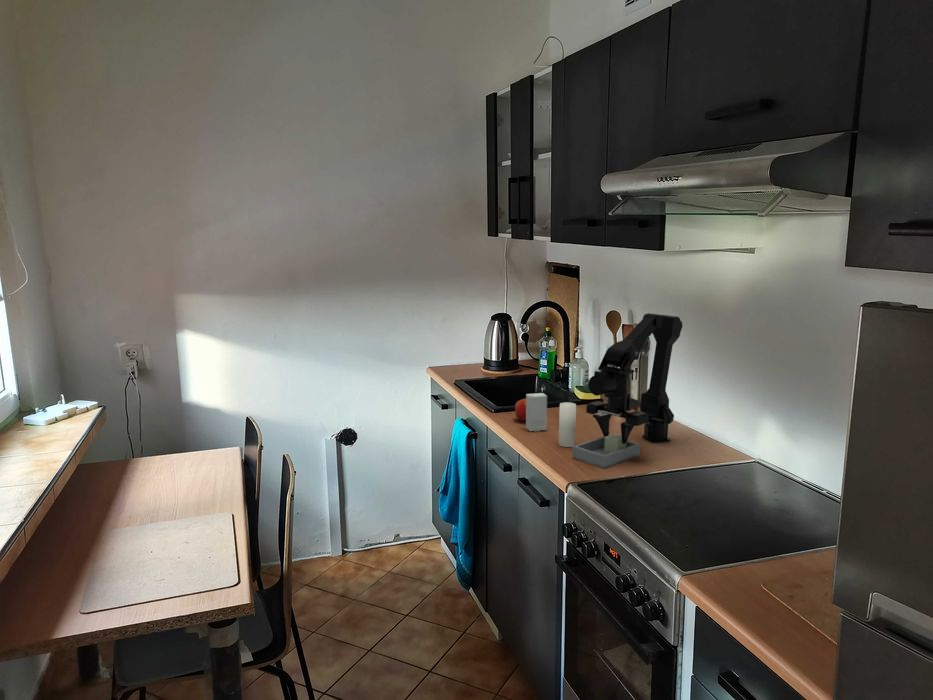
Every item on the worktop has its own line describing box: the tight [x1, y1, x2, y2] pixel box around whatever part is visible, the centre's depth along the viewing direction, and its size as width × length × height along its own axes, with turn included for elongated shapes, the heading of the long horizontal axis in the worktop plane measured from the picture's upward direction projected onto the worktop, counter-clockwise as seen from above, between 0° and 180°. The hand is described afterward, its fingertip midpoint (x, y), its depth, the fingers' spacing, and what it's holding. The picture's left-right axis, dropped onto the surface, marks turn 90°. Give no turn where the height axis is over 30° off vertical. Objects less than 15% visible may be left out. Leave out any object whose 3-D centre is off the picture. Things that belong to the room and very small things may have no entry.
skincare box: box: [525, 392, 548, 432], centre depth 226 cm, size 6×4×12 cm
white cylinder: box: [558, 401, 577, 448], centre depth 211 cm, size 5×5×13 cm
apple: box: [514, 398, 526, 422], centre depth 236 cm, size 8×8×8 cm
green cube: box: [604, 433, 626, 453], centre depth 203 cm, size 4×4×4 cm
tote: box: [571, 436, 641, 469], centre depth 201 cm, size 17×12×4 cm
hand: (615, 440), depth 203 cm, fingers open, 6 cm apart
